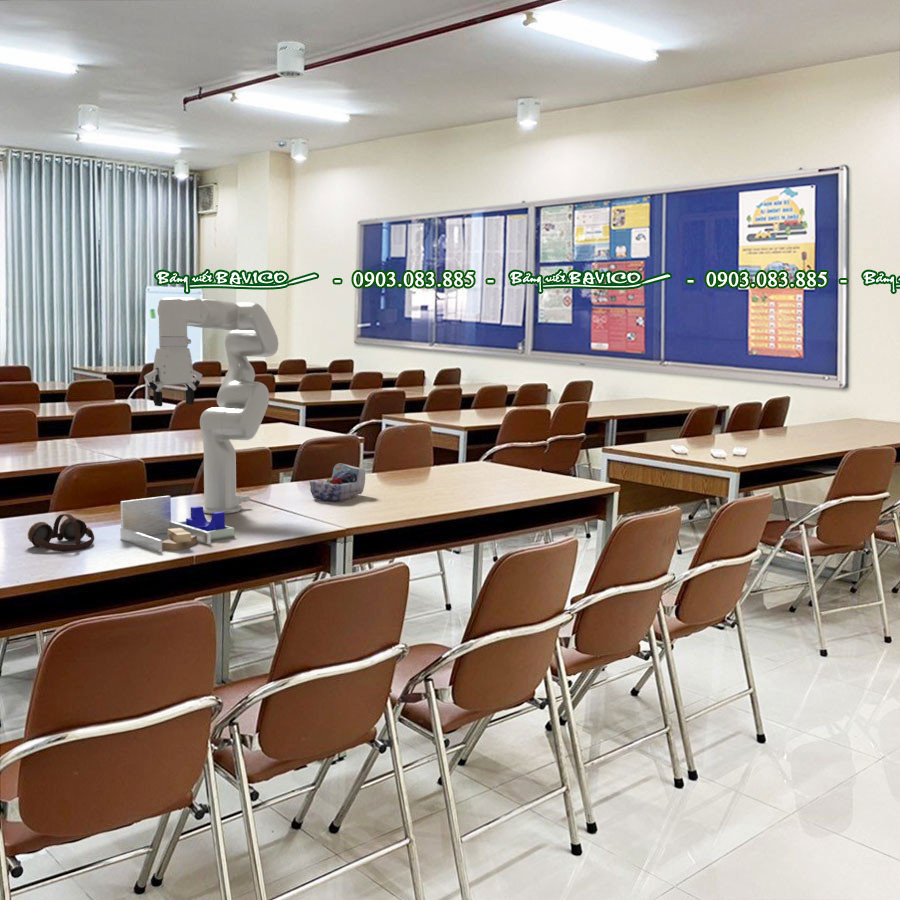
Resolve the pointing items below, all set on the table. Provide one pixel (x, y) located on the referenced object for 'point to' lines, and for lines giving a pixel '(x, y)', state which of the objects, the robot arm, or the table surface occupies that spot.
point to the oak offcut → (179, 535)
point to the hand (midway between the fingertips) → (174, 405)
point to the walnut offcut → (177, 544)
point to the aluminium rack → (152, 522)
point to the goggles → (61, 534)
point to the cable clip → (201, 522)
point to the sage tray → (218, 532)
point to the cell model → (339, 484)
